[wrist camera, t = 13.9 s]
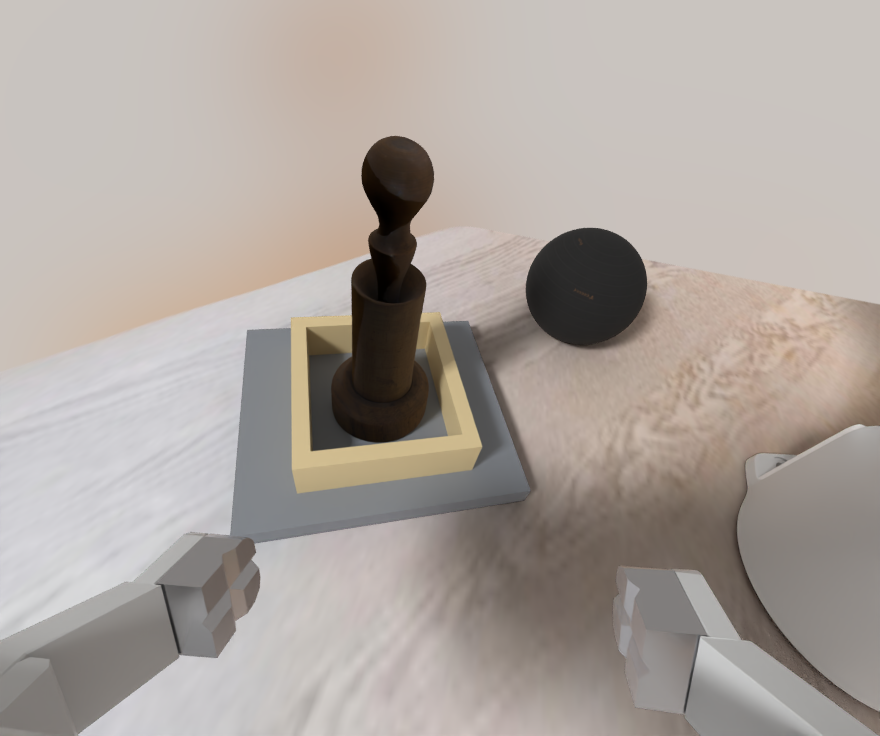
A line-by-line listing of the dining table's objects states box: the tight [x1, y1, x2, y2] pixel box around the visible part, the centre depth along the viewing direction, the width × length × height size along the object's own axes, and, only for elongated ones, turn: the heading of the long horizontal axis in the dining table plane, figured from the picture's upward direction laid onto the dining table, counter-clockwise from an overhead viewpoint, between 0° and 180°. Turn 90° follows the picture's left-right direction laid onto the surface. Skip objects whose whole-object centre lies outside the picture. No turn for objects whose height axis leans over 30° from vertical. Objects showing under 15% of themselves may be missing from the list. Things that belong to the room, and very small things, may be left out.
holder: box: [230, 312, 531, 543], centre depth 30 cm, size 18×16×4 cm
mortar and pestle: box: [331, 136, 434, 443], centre depth 24 cm, size 7×6×18 cm
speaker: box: [526, 228, 647, 345], centre depth 38 cm, size 10×10×10 cm
